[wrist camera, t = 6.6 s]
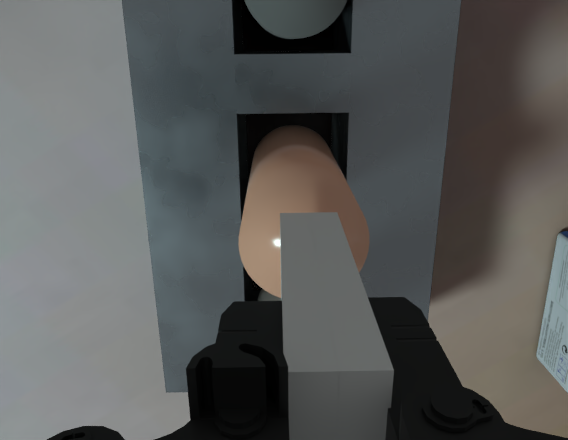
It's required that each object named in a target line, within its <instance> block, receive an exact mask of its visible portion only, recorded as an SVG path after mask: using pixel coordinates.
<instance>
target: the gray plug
mask: <svg viewBox="0 0 568 440" xmlns="http://www.w3.org/2000/svg"><path fill="white" fill-rule="evenodd" d="M346 2H347V0H245V3H246V5H247V7H248V9H249V11H250V13H251V14H252V16H253V17H254V18H255V19H256V21H257V22H258V23H259V24H260V25H261V26H262V27H263V28H264V29H265V30H266V31H267V32H268V33H270V34H271V35H273V36H275V37H278V38H282V39H297V38H305V37H310V36H312V35H315V34H317V33H319V32H321V31H323V30H324V29H326V28H327V27H329V26H330V25H331V24H332V23H333V22H334V21H335V20H336V18H337V17H338V16H339V15H340V13H341V12H342V10H343V8H344V6H345V4H346Z"/></svg>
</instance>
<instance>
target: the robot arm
mask: <svg viewBox="0 0 568 440" xmlns="http://www.w3.org/2000/svg"><path fill="white" fill-rule="evenodd" d="M280 250H281V301H234V302H233V303H232V304H231V305H230V306H229V307H228V308H227V309H226V310H225V311H224V312H223V313H222V314H221V318H220V323H219V328H218V334H217V338H216V343H215V344H212V345H209V346H207V347H205V348H204V349H202V350H201V351H199V352H198V353H197V354H195V355H194V356H193V357H192V359H191V360H190V362H189V364H188V366H187V367H186V375H187V386H188V397H189V407H190V418H191V420H190V421H189V422H188V423H187V424H186V425H185V426H183V427H182V428H180V429H178V430H177V431H175V432H173V433H171V434H169V435H166V436H163V437H161V438H158V439H155V440H568V438H564V437H560V436H555V435H550V434H546V433H541V432H536V431H532V430H527V429H523V428H520V427H516V426H513V425H510V424H508V423H505V422H504V420H503V418H502V417H501V415H500V413H499V412H498V411H497V410H496V409H495V408H494V406H493V405H492V404H491V403H490V402H489V401H488V400H487V399H485V398H484V397H482V396H481V395H479V394H477V393H476V392H474V391H473V390H470V389H467V388H464V387H463V386H462V384H461V382H460V380H459V379H458V377H457V375H456V373H455V371H454V369H453V367H452V366H451V364H450V362H449V360H448V358H447V356H446V355H445V353H444V351H443V349H442V347H441V345H440V343H439V342H438V341H437V340H436V336H435V334H434V332H433V331H432V329H431V328H430V327H429V323H428V321H427V319H426V318H425V316H424V314H423V312H422V310H421V309H420V308H418V307H417V306H416V305H414V304H413V303H412V302H410V301H409V300H408V299H406V298H405V297H367V294H366V291H365V288H364V286H363V283H362V280H361V277H360V274H359V272H358V269H357V266H356V263H355V260H354V258H353V255H352V252H351V249H350V247H349V244H348V241H347V238H346V235H345V233H344V230H343V227H342V224H341V222H340V219H339V216H338V213H337V212H316V213H280ZM47 440H125V439H124V438H123V437H122V436H121V435H120V434H119V432H117V431H114V430H111V429H109V428H106V427H104V426H82V427H78V428H74V429H70V430H67V431H63V432H61V433H59V434H57V435H55V436H53V437H51V438H49V439H47Z"/></svg>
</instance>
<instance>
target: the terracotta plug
mask: <svg viewBox="0 0 568 440" xmlns="http://www.w3.org/2000/svg"><path fill="white" fill-rule="evenodd" d="M316 212H337V213H338V216H339V219H340V222H341V224H342V227H343V230H344V233H345V235H346V238H347V241H348V244H349V247H350V249H351V252H352V255H353V258H354V260H355V263H356V266H357V269H358V272H360V270H361V269H362V267H363V265H364V263H365V261H366V258H367V254H368V251H369V243H370V242H369V229H368V225H367V222H366V219H365V217H364V215H363V212H362V211H361V209H360V207H359V205H358V203H357V201H356V199H355V197H354V195H353V193H352V191H351V189H350V187H349V185H348V183H347V181H346V179H345V177H344V175H343V173H342V171H341V170H340V168H339V166H338V164H337V162H336V160H335V158H334V156H333V154H332V152H331V150H330V148H329V146H328V144H327V143H326V141H325V140H324V139H323V138H322V137H321V136H320V135H319V134H318V133H317V132H315V131H314V130H312V129H310V128H307V127H304V126H299V125H287V126H282V127H279V128H276V129H274V130H272V131H271V132H269V133H268V134H267V135H266V136H265V137H263V139H262V140H261V141H260V142H259V144H258V146H257V148H256V150H255V152H254V156H253V161H252V166H251V172H250V177H249V183H248V188H247V194H246V199H245V205H244V210H243V216H242V221H241V226H240V232H239V253H240V257H241V260H242V263H243V265H244V268H245V269H246V271H247V273H248V274H249V276H250V277H251V278H252V279H253V281H254V282H255V283H256V284H258V285H259V286H260V287H261V288H262V289H264V290H265V291H267V292H269V293H270V294H272V295H274V296H277V297H279V298H281V250H280V213H316Z"/></svg>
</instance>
